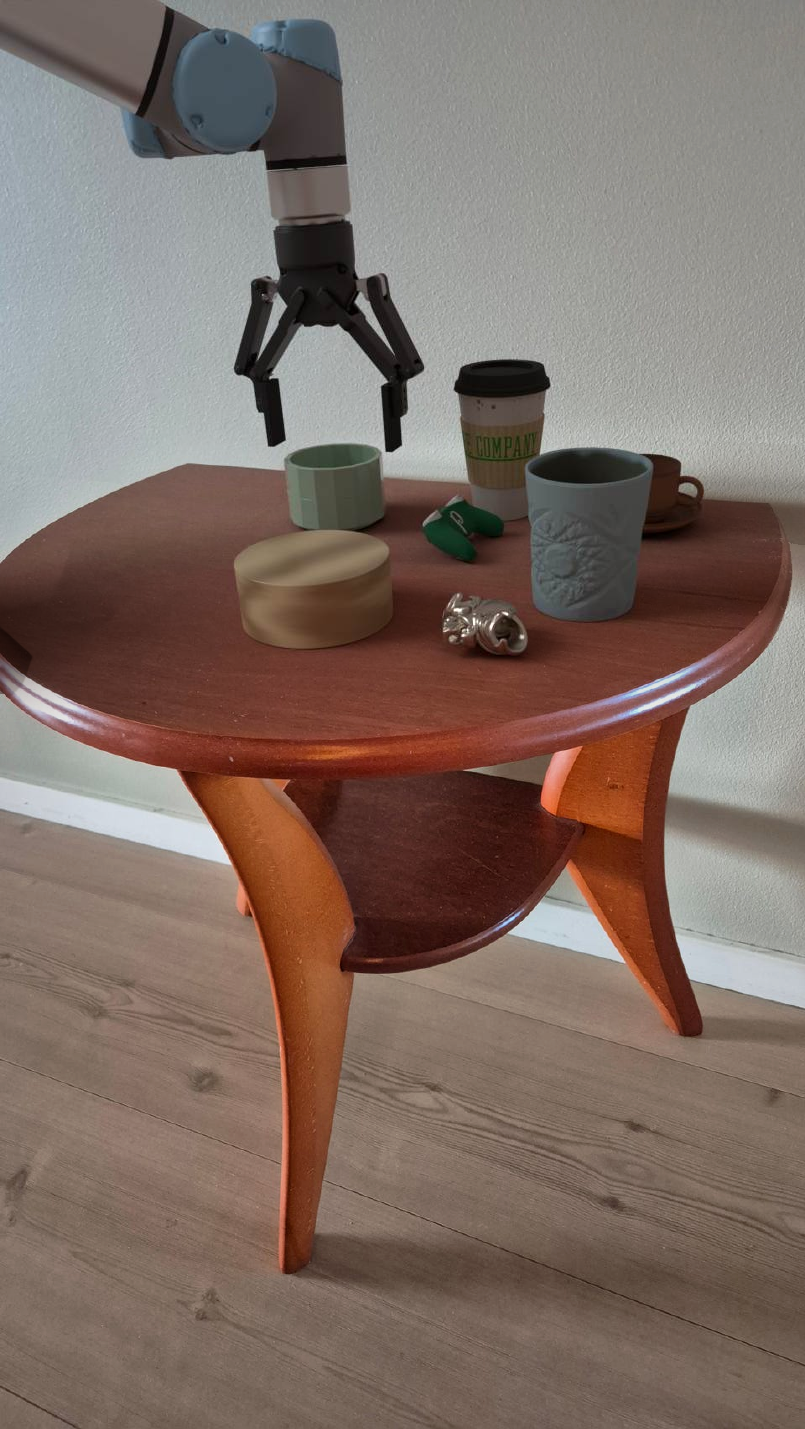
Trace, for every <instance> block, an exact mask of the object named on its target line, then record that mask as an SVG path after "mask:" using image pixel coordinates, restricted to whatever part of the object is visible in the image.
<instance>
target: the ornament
mask: <svg viewBox="0 0 805 1429" xmlns="http://www.w3.org/2000/svg"><path fill="white" fill-rule="evenodd" d="M463 598H464V595H463V593H462V592H456V593H454V594H453V595H452V597H451V598H450V600H449V602H448V603H447V605H446V606H445V608H444V609H443V611H442V612H443V614H442V625H441V634H442V635H441V636H442V645H443V647H448V648H460V647H461V645H463V646H466V648H467V649H473V648H476V647H477V644H478V646H479V647H481V649H483V650H484V651H485V652H487V653H489V654H491V655H495V656H507V655H509V656H513V657H516V656H517V657H518V656H520V655H522V654H523V653H524V651H526V648H527V646H528V641H529V640H528V639H529V638H528V633H527V630H526V627H525V625H524V623H523V622H522V621H521V619H519V617H518V616H517V608H516V607H515V606H514V605H513V604H511V603H508V602H506V601H504V600H502V599H496V600H495V599H492V598H485V599H483V598H481V597H480V596H478V595H469V597H468V600H466V601H462V600H463Z"/></svg>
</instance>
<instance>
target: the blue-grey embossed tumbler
mask: <svg viewBox="0 0 805 1429" xmlns="http://www.w3.org/2000/svg"><path fill="white" fill-rule="evenodd" d="M640 454H641V453H637V452H634V451H630V450H625V449H620V448H612V447H595V446H594V447H585V446H584V447H570V448H569V447H568V448H562V449H556V450H555V449H554V450H551V451H547V452H543V453H540V455H538V456H537V457H535V458H534V459H532V460H530V461H529V462H528V463H527V464H526V466H525V476H526V489H527V498H528V504H529V515H528V521H529V525H530V527H531V528H530V536H529V537H530V538H529V540H530V541H529V544H530V560H531V569H530V576H531V577H530V579H531V595H532V602H533V605H534V607H535V608H536V610H538V611H539V612H541V613H542V614H544V615H546V616H548V617H551V618H554V619H558V620H562V621H568V622H577V623H578V622H579V623H592V622H601V621H608V620H612V619H615V618H619V617H620V616H623V615H625V614H627V612H629V611H630V610H632V608H633V604H634V601H635V594H636V588H637V581H638V573H639V566H638V563H639V561H638V560H639V555H640V552H641V549H642V537H643V533H642V528H643V525H644V522H645V518H646V512H647V507H648V500H649V492H650V486H651V480H652V474H653V463H652V462H651V460H650V459H648V458H647V457H645V456H643V455H640Z"/></svg>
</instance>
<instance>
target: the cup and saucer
mask: <svg viewBox="0 0 805 1429" xmlns="http://www.w3.org/2000/svg"><path fill="white" fill-rule="evenodd" d="M639 454H640V455H643V456H645V457H647V458H648V459H650V460H651V462H652V463H653V474H652V480H651V486H650V492H649V500H648V507H647V512H646V518H645V522H644V525H643V528H642V534H655V533H663V532H665V533H666V532H669V531H674V530H677V529H680V528H684V527H685V526H687V525H689V524H691V523H692V522H693V521H695V520H696V519H697V518H698V517H699V516H700V514H701V513H702V509H703V505H702V503H701V502H702V500H703V498H704V496H705V488H704V485H703V483H702V482H701V481H700V479H698V477H697V478H696V477H695V476H691V475H682V474H681V473H682V462H681V461H680V460H679V459H677V458H675V457H672V456H668V455H664V454H657V453H639ZM684 484H692V485H693V486H694V487H695V488H696V495H695V497H694V496H692V495H690V494H687V493H685V492H681V491H680V485H684Z"/></svg>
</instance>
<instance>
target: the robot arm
mask: <svg viewBox="0 0 805 1429" xmlns="http://www.w3.org/2000/svg"><path fill="white" fill-rule="evenodd" d="M0 50H2V51H4V52H6V53H9V54H10V55H12V56H14V57H16V58H19V59H20V60H23V61H25V62H27V63H29V64H31V65H33V66H35V67H37V68H39V69H41V70H43V71H45V72H47V73H49V74H51V75H53V76H55V77H57V78H60V79H61V80H64V81H65V82H67V83H70V84H72V85H74V86H76V87H78V88H80V89H82V90H84V91H86V92H88V93H89V94H92V95H94V96H96V97H99V98H100V99H103V100H105V101H107V102H109V103H110V104H113V105H115V106H117V107H119V109H120V114H121V120H122V124H123V128H124V133H125V136H126V140H127V144H128V146H129V148H130V150H131V151H132V153H133V154H134V155H135V156H136V157H137V158H140V159H163V160H168V161H171V160H174V158H182V157H183V158H187V157H198V156H199V157H200V156H201V157H202V156H212V155H223V156H230V155H236V154H237V153H243V152H244V153H245V152H247V153H253V152H257V151H263V155H264V156H263V157H264V162H265V169H266V176H267V178H266V179H267V187H268V198H269V207H270V216H271V218H272V219H273V220H276V221H278V225H276V226H275V227H274V229H273V231H272V232H273V240H274V249H275V257H276V264H277V267H278V270H279V278H278V279H273V278H272V277H271V276H269V275H265V276H260V277H256V278H254V279H252V280H251V282H250V299H251V300H250V301H251V303H250V306H249V310H248V314H247V317H246V322H245V325H244V328H243V332H242V336H241V340H240V344H239V347H238V351H237V354H236V358H235V362H234V366H233V372H234V373H235V375H236V376H239V377H240V376H243V377H246V378H248V379H249V380H250V381H251V382H252V385H253V393H254V398H255V399H254V400H255V407H256V410H257V412H258V414H263V419H264V420H263V421H264V427H265V434H266V436H265V437H266V442H267V447H268V448H275V447H276V446H277V447H278V445H281V444H283V443H284V442H286V441H287V438H286V430H285V428H286V427H285V421H284V420H285V419H284V412H283V404H282V403H283V402H282V394H281V388H280V387H281V386H280V378H278V377H273V376H274V370H275V369H276V367H277V365H278V364H279V362H280V360H281V359H282V357H283V356H284V354H285V352H286V351H287V349H288V347H289V345H290V344H291V342H292V341H293V339H294V337H295V336H296V334H297V332H298V331H299V329H300V328H301V327H302V326H303V327H304V328H312V327H314V326H321V327H324V328H326V327H327V328H333V327H336V326H337V325H338V326H339V327H340V328H341V329H342V330H343V331H344V332H346V333H348V334H349V335H350V336H351V338H352V340H354V341H355V343H356V344H357V345H358V347H359V348H360V349H361V350H362V351H363V353H364V354H365V355H366V356H367V358H368V359H369V360H370V362H372V364H373V365H374V367H376V369H377V370H378V371H379V373H380V374H381V375H382V376H383V378H385V380H386V381H387V382H386V383H384V384H382V385H380V396H381V410H382V411H381V412H382V423H383V435H384V436H383V438H384V451H385V453H394V452H395V451H396V450H398V449H399V448H401V447H402V446H403V436H402V420H401V418H403V417H404V416H406V415H407V414H408V411H409V400H408V381H409V380H411V379H413V378H415V377H417V376H419V375H420V374H422V373H423V372H424V371H425V364H424V362H423V359H422V358H421V356H420V354H419V352H418V350H417V348H416V346H415V343H414V342H413V339H412V337H411V336H410V334H409V331H408V329H407V327H406V325H405V323H404V322H403V320H402V318H401V316H400V312H399V311H398V310H397V307H396V305H395V303H394V301H393V299H392V297H391V289H390V285H389V284H390V283H389V279H388V276H387V274H385V273H384V272H380V273H376V274H374V275H371V276H367V277H361V278H359V276H358V274H357V271H356V251H355V250H356V249H355V238H354V226H353V224H352V223H351V221H350V220H346V215H349V214H350V213H351V211H352V205H351V192H350V180H349V170H348V160H347V159H348V158H347V148H346V130H345V114H344V98H343V86H344V81H343V78H342V71H341V63H340V55H339V49H338V44H337V37H336V33H335V31H334V29H333V27H332V26H331V25H330V24H329V23H328V22H326V21H324V20H321V19H316V18H315V19H314V18H292V19H291V18H290V19H283V20H279V19H278V20H271V21H266V22H260V23H258V24H256V25H255V26H253V27H252V29H251V32H250V39H249V37H246V36H245V35H244V34H241V33H238V32H237V31H233V30H230V29H225V28H224V29H223V28H219V27H215V28H209V27H208V26H206V25H203V24H202V23H201V22H198V21H196V20H195V19H193V18H191V17H190V16H187V15H186V14H184V13H182V12H180V11H178V10H175V9H173V8H171V7H169V6H167V5H166V4H165V3H164V2H162V1H160V0H0ZM360 293H362V295H363V298H364V299H365V300H366V301H367V302H369V306H370V307H371V310H372V312H373V314H374V316H375V318H376V321H377V323H378V324H379V327H380V328H381V330H382V332H383V334H384V336H385V339H386V340H387V342H388V344H389V346H390V347H389V346H388V344H386V343H385V341H384V339H382V337H381V336H380V335H379V334H378V333H377V331H376V330H375V329H374V327H373V326H372V325H371V323H369V321H368V319H367V317H366V314H365V313H364V312H363V310H362V309H361V308H360V307H359V306H358V304H357V303H356V301H357V298H358V297H359V295H360ZM278 296H279V297H280V298H281V300H282V301H283V302H284V304H285V306H286V307H285V309H284V310H283V312H282V314H281V316H280V318H279V319H278V321H277V323H278V324H277V326H276V328H275V330H274V331H273V333H272V334H271V336H270V338H269V340H268V341H267V343H266V345H265V347H264V348H263V350H262V352H261V348H262V346H263V341H264V339H265V334H266V332H267V328H268V324H269V322H270V317H271V314H272V311H273V306H274V302H275V301H276V300H277V298H278ZM260 353H261V354H260ZM270 377H272V378H270Z"/></svg>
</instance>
